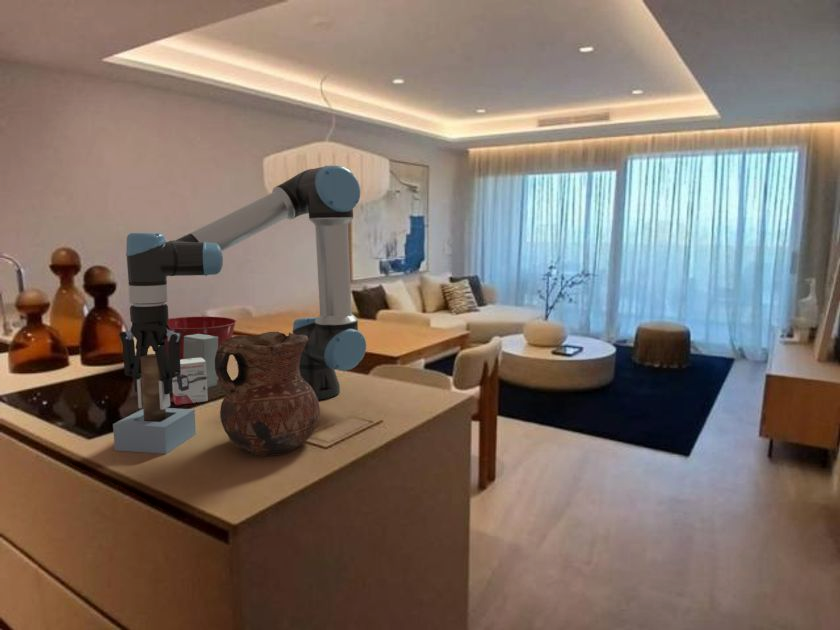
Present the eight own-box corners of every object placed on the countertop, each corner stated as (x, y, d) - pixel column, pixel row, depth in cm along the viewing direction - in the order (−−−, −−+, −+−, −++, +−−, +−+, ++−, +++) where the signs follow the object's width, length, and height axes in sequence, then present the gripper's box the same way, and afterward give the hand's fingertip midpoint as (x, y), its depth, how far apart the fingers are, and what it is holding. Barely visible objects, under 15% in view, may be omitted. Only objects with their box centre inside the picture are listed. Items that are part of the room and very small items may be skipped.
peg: (170, 422, 125) (167, 354, 123) (158, 429, 121) (155, 358, 119) (152, 421, 126) (148, 353, 124) (139, 428, 121) (135, 357, 119)
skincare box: (182, 386, 168) (179, 336, 166) (199, 381, 175) (197, 332, 172) (203, 390, 165) (201, 338, 163) (220, 384, 172) (218, 334, 169)
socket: (195, 433, 129) (194, 409, 128) (166, 453, 117) (164, 427, 117) (148, 431, 131) (147, 406, 130) (114, 450, 119) (112, 424, 118)
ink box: (175, 405, 150) (173, 364, 148) (172, 401, 154) (170, 360, 152) (208, 401, 154) (206, 360, 153) (204, 396, 159) (202, 357, 157)
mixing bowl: (218, 351, 219) (217, 313, 217) (250, 364, 198) (249, 322, 196) (143, 361, 200) (140, 320, 198) (169, 377, 179) (167, 330, 177)
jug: (265, 423, 137) (262, 325, 134) (337, 435, 129) (336, 332, 126) (199, 455, 117) (193, 340, 113) (279, 472, 109) (276, 350, 106)
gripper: (195, 303, 122) (199, 404, 125) (123, 300, 124) (129, 400, 128) (176, 307, 115) (181, 414, 118) (100, 304, 117) (107, 410, 120)
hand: (154, 406), depth 123 cm, fingers closed on peg, 4 cm apart
